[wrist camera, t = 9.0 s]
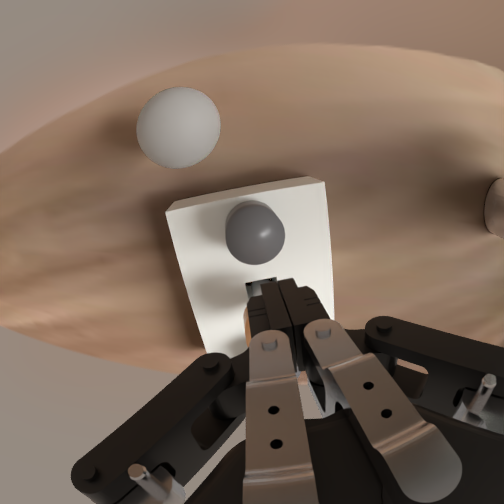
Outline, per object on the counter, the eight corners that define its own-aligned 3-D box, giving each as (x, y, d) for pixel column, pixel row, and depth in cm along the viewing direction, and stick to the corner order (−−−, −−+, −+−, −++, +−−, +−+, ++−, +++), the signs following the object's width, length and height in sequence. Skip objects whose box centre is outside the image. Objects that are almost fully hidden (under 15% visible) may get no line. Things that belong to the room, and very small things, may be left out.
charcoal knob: (264, 186, 29) (280, 202, 21) (271, 228, 30) (288, 258, 22) (220, 195, 28) (220, 214, 20) (229, 236, 30) (231, 270, 22)
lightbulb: (217, 164, 28) (214, 175, 18) (157, 161, 27) (121, 170, 17) (224, 105, 26) (226, 81, 15) (163, 102, 25) (131, 78, 15)
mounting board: (308, 176, 29) (324, 182, 24) (322, 326, 36) (334, 350, 31) (174, 201, 29) (165, 212, 24) (215, 348, 35) (215, 375, 31)
